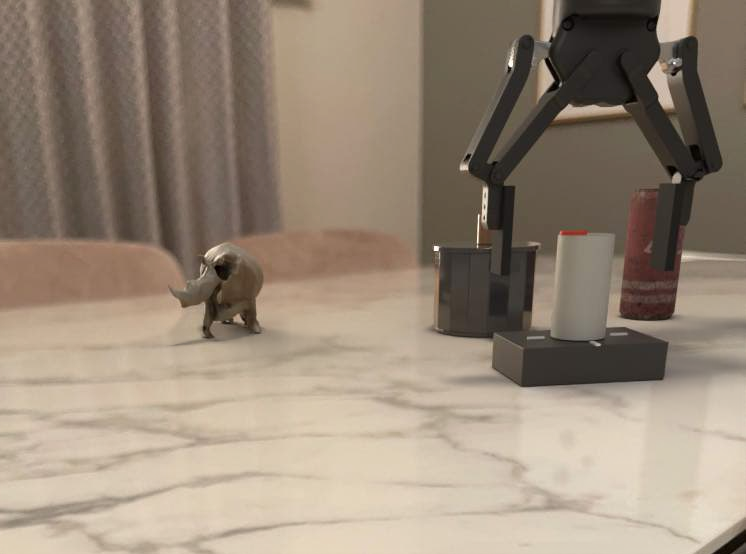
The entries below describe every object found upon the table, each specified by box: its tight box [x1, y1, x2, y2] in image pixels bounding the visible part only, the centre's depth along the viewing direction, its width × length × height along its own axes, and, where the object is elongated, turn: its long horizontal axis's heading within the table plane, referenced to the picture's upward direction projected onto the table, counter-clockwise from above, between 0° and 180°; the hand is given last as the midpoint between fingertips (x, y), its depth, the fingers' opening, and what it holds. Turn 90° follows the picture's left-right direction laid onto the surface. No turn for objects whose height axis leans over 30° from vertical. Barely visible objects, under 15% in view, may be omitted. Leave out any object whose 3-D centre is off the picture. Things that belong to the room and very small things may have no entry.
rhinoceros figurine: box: [167, 241, 265, 339], centre depth 94 cm, size 8×14×15 cm
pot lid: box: [431, 213, 542, 253], centre depth 90 cm, size 11×11×4 cm
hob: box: [491, 326, 669, 387], centre depth 71 cm, size 12×9×3 cm
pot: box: [433, 250, 538, 338], centre depth 92 cm, size 11×16×8 cm, turn 8°
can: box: [618, 188, 686, 321], centre depth 97 cm, size 6×6×14 cm
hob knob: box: [550, 229, 616, 341], centre depth 69 cm, size 4×4×8 cm
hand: (581, 272), depth 68 cm, fingers open, 13 cm apart
